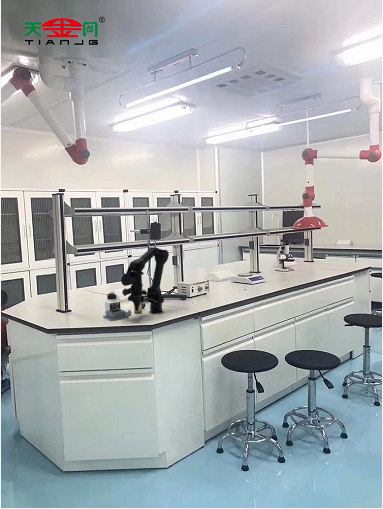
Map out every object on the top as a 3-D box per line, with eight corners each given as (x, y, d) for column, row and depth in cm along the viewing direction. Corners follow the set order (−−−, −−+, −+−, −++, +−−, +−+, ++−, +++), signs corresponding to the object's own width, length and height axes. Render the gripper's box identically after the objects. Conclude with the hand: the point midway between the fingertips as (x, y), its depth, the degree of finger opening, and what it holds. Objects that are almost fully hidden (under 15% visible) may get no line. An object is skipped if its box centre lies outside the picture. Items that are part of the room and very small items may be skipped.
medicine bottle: (110, 314, 248) (109, 295, 247) (105, 312, 253) (104, 293, 252) (120, 312, 252) (119, 293, 251) (115, 310, 258) (114, 291, 256)
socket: (125, 313, 249) (125, 306, 248) (134, 316, 240) (134, 309, 239) (103, 317, 240) (102, 310, 239) (111, 321, 231) (111, 314, 230)
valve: (139, 312, 238) (139, 298, 237) (143, 313, 234) (142, 299, 234) (133, 313, 235) (132, 299, 234) (136, 314, 232) (136, 300, 231)
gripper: (128, 280, 243) (129, 306, 245) (118, 286, 225) (119, 313, 226) (146, 280, 242) (147, 306, 243) (137, 285, 223) (139, 313, 225)
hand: (138, 309), depth 235 cm, fingers closed on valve, 4 cm apart
